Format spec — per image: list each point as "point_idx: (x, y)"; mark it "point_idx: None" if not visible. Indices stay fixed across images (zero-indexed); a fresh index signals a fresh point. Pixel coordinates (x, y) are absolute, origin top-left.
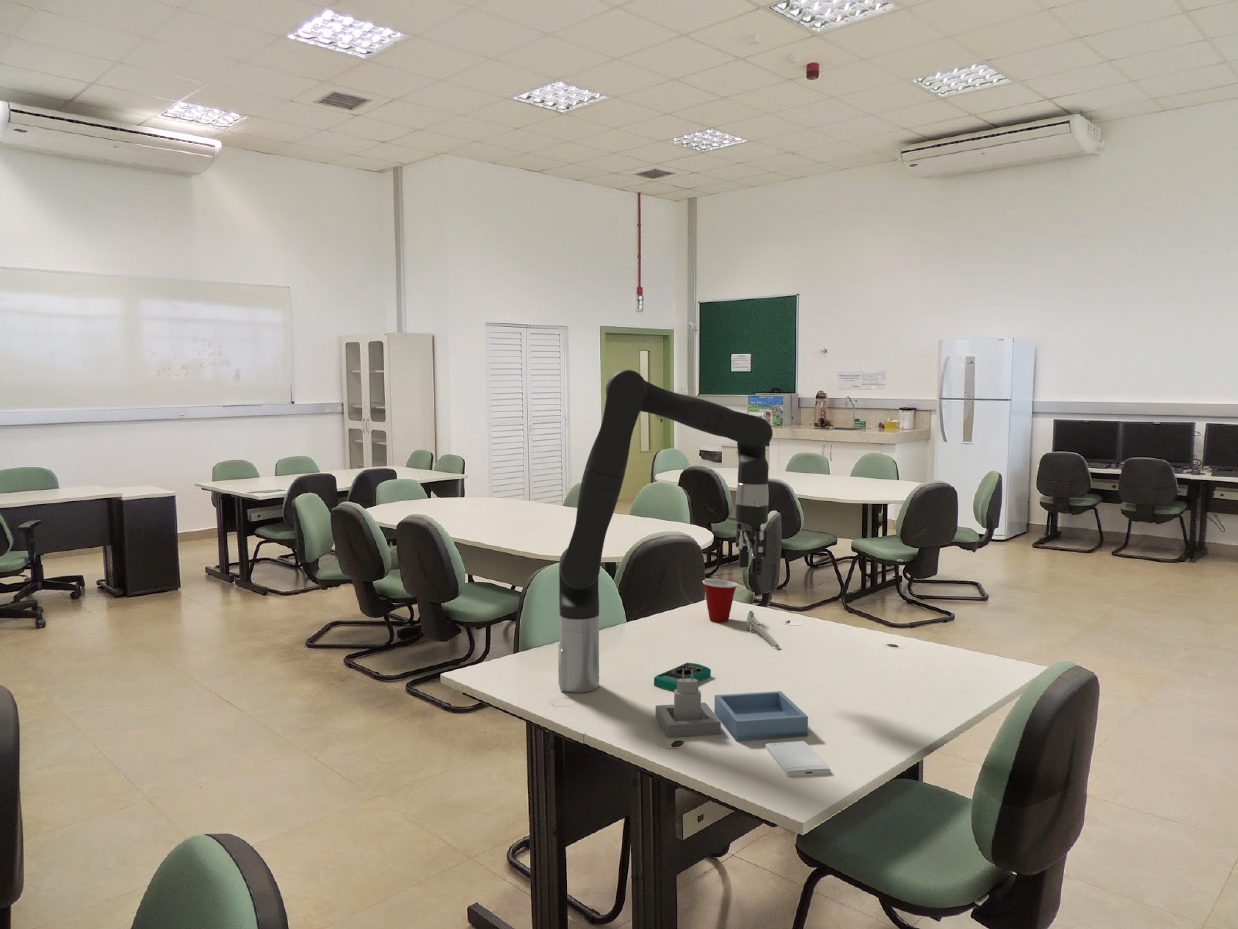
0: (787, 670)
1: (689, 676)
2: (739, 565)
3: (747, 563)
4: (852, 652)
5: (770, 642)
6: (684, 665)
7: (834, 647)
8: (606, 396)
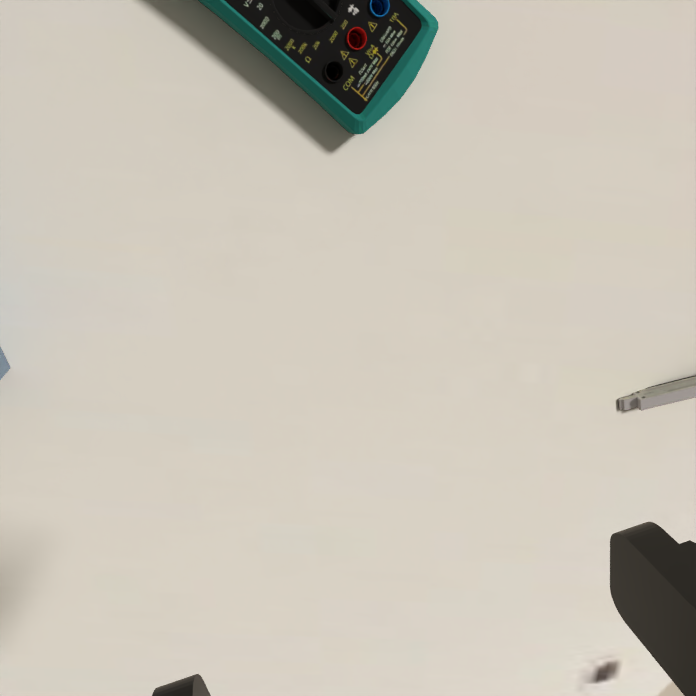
0: (420, 416)
1: (244, 14)
2: (638, 535)
3: (642, 634)
4: (565, 589)
5: (673, 386)
6: (401, 6)
7: None
8: None
